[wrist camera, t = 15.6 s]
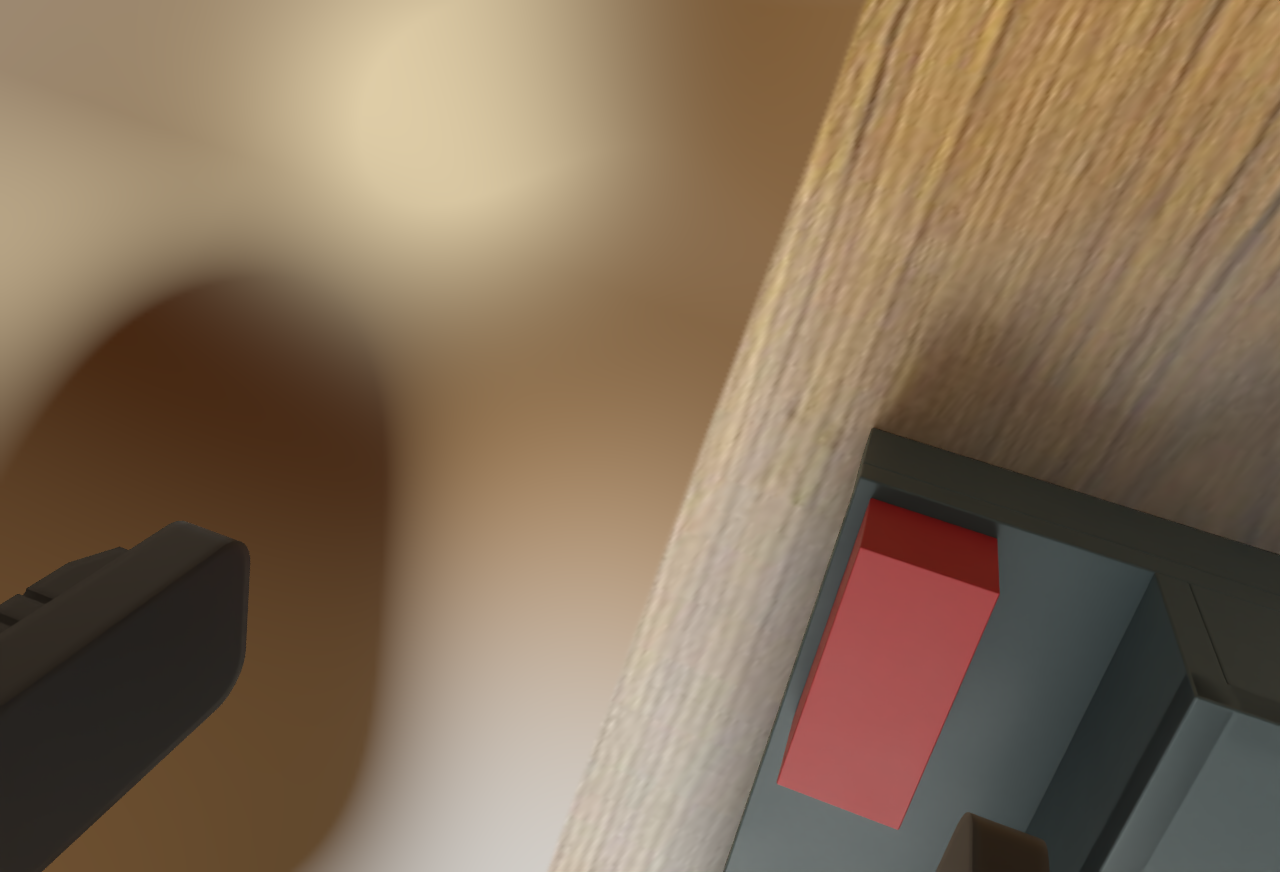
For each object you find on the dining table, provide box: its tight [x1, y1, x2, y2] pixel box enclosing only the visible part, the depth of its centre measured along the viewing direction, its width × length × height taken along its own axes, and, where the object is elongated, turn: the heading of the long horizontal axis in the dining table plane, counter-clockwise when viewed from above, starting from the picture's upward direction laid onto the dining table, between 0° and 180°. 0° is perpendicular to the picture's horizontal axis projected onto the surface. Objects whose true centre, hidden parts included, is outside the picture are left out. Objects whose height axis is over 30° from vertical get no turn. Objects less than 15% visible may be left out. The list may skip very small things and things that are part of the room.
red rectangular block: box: [777, 498, 1000, 830], centre depth 33 cm, size 9×4×4 cm, turn 167°
